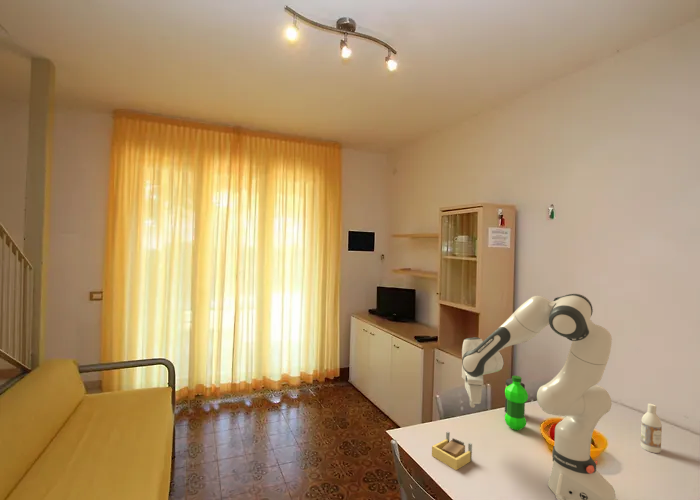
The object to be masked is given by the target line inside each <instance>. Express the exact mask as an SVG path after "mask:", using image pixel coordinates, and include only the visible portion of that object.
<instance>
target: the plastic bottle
mask: <svg viewBox="0 0 700 500" xmlns="http://www.w3.org/2000/svg"><path fill="white" fill-rule="evenodd" d="M511 378H512V381H513V383H512V384H510V385H509V386H507V387H506V386H505V389H504V395H505V399H506V398H507V413H506V412H505V415H504V421H505V424H506V425H507V426H508V427H509V428H510V429H512V430H514V431H521V430H522V429H523V428H525V427H526V426H527V419H526V417H525V412H526V411H525V410H526V409H525V408H526V407H525V406H526V402H527V401H528V400H529V399H528V398H529V394H528V392H527V390H526V388H525V389H524V388H523V387H522V386H521V385H520V382H521V383H522V377H521V376H520V375H512V376H511Z"/></svg>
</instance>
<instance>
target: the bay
mask: <svg viewBox="0 0 700 500" xmlns="http://www.w3.org/2000/svg"><path fill="white" fill-rule="evenodd" d="M445 434H446V435H445V439H443V440H442V441H440V442H438V443H435V444H434V445H432V446H431V457H434V458H435V459H436V460H438V461H440V462H441V463H443V464H444V465H446V466H447V467H450V468H452V469H454V470H455V471H457V470H459V469H460V468H462V467H464V466H466V465H467V464H469V463H470V462H472V458H473V457H472V455H473V454H472V453H473V443H471V442H469V443H468V444H467V446H468V448H467V449H468V450H467V451H465V453H464V454H462V455H460V456H459V457H457V458H455V457H453V456H451V455H450V454H448V453H446V452H444V451H442V448H443V447H444V446H445V445H446V444H448V443H449V442H450V437H451V436H450V432H449V431H447V432H446V433H445Z"/></svg>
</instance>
